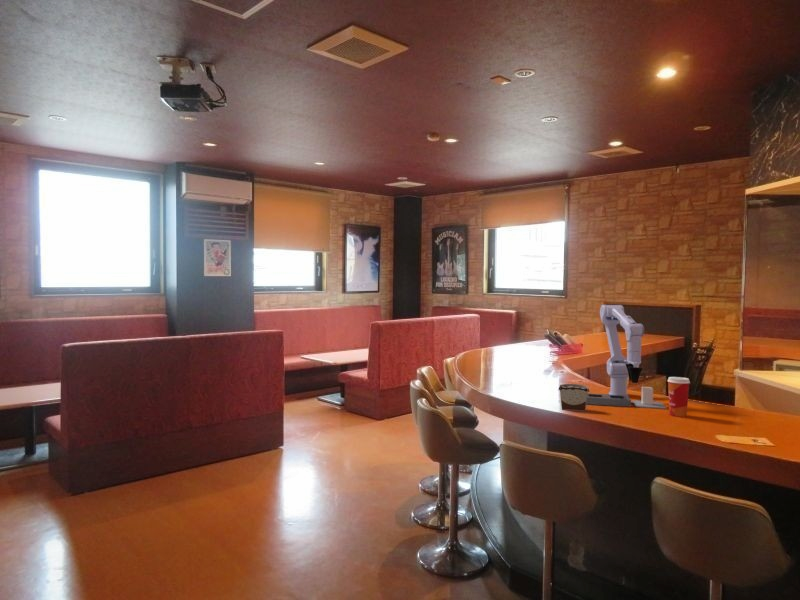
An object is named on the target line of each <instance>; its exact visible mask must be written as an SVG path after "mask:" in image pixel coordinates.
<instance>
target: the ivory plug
mask: <svg viewBox="0 0 800 600" xmlns="http://www.w3.org/2000/svg"><path fill="white" fill-rule="evenodd" d="M640 396H641V400H640V401H641V403H642V404H644V405H653V402H654V388H653V387H651V386H641V395H640Z"/></svg>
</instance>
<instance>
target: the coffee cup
mask: <svg viewBox="0 0 800 600" xmlns="http://www.w3.org/2000/svg"><path fill="white" fill-rule="evenodd" d="M666 381H667V382H668V383H667V386H668V387H667V389H668V390H667V391H668V409H669V410H668V411H669V416H672V417H675V418H686V417H687V415H688V413H687V412H688V405H689V404H688V403H689V390H690V384H691V381H690V379H689V378H688V377H682V376H669V377H668V379H667V380H666Z"/></svg>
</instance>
